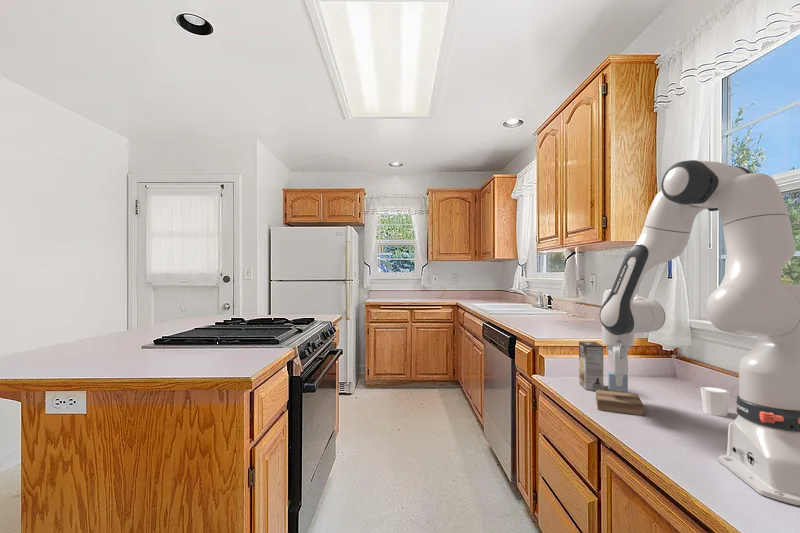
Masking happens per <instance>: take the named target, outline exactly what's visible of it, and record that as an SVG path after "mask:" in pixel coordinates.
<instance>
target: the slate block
mask: <svg viewBox="0 0 800 533" xmlns="http://www.w3.org/2000/svg"><path fill="white" fill-rule="evenodd" d="M628 375H629V374H627V375H623V385H622V386H616V383H615V379H616V378H615V374H614V371H613V370H608V371H607V387H608V391H613V392H622V393H629V387H628V386H629V376H628Z"/></svg>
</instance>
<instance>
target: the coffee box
mask: <svg viewBox="0 0 800 533" xmlns="http://www.w3.org/2000/svg"><path fill="white" fill-rule="evenodd" d="M578 354H579V355H578V367H579V368H578V374H579V376H578V378H579V379H578V380H579V381H578V382H579V385H581V387H582V388H583V389H584V390H585V391H596V390H604V345H603V344H600V343H599V342H597V341H578Z"/></svg>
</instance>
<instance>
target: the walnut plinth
mask: <svg viewBox="0 0 800 533" xmlns="http://www.w3.org/2000/svg"><path fill="white" fill-rule="evenodd" d="M595 400H596V407H597V410H598V411H606V412H614V413H621V414H628V415H629V414H630V415H636V416H644V414H645V413H644V411H645V410H644V403H643V402H642V400H641V398H640V396H639V394H638V393H629V392H620V391H611V390H604V389H603V390H595Z"/></svg>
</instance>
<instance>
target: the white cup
mask: <svg viewBox="0 0 800 533" xmlns="http://www.w3.org/2000/svg"><path fill="white" fill-rule="evenodd" d="M730 393H731V392H730V391H729V390H727V389H724V388H721V387H716V386H715V387H713V386H701V387H700V394H701V395H700V396H701V404H702V411H703V412H704V413H705V414H708V415H710V416H711V415H712V416H716V417H727V416H728V410H729V401H730Z"/></svg>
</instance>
